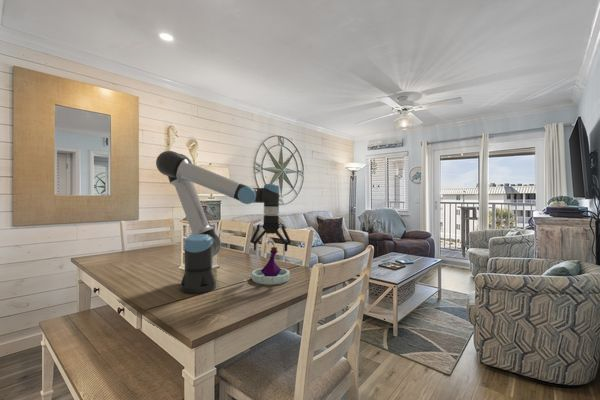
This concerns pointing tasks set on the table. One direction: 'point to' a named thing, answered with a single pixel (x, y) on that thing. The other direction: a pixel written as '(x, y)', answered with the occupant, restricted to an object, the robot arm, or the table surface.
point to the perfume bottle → (271, 264)
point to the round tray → (261, 279)
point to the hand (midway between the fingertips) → (270, 257)
